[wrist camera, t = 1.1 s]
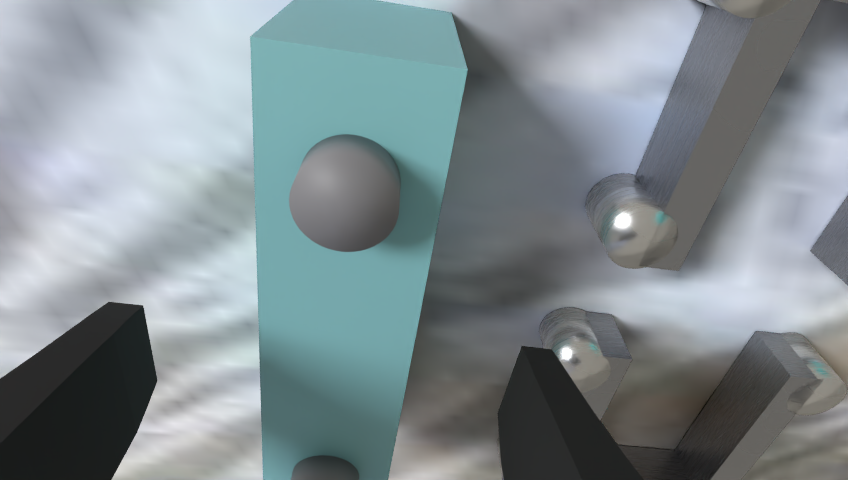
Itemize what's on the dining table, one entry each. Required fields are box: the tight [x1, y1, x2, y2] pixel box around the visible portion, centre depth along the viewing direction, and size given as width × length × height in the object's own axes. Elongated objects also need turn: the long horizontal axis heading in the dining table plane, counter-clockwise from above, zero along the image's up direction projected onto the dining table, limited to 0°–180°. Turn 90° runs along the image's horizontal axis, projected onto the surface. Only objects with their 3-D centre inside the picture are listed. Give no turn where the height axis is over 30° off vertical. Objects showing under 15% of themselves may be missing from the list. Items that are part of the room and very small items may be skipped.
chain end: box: [497, 307, 847, 480], centre depth 17 cm, size 7×9×2 cm
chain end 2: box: [585, 0, 848, 285], centre depth 11 cm, size 7×9×2 cm
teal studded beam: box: [250, 0, 468, 480], centre depth 12 cm, size 12×3×5 cm, turn 172°
